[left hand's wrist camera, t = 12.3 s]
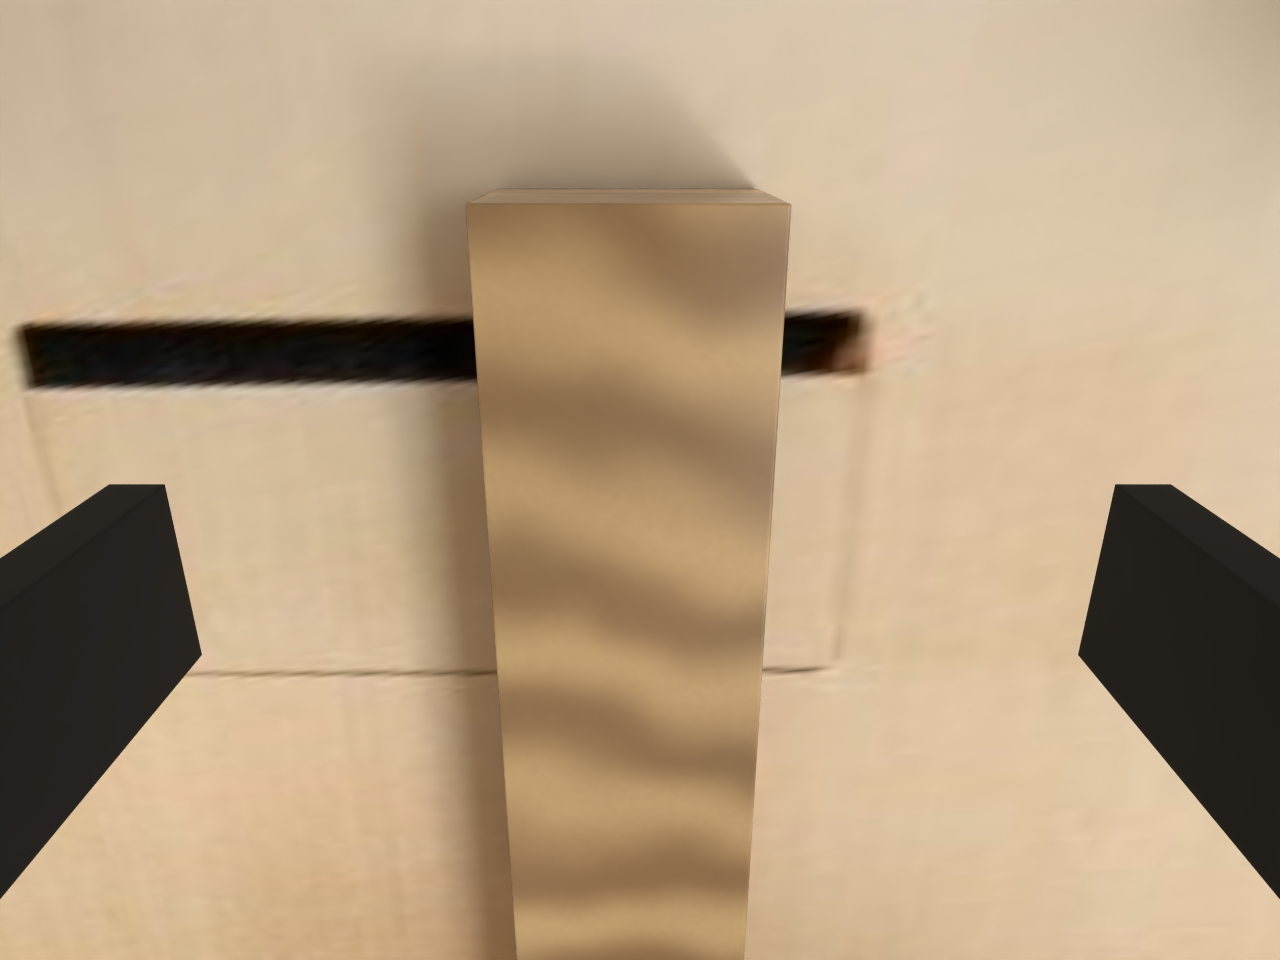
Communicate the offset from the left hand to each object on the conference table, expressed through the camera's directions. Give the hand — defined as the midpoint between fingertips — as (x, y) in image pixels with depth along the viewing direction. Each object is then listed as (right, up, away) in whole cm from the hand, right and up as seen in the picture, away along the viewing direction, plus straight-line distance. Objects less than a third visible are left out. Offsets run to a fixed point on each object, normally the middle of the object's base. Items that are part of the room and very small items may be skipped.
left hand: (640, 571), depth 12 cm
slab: (0, -22, +32) cm, 39 cm away
